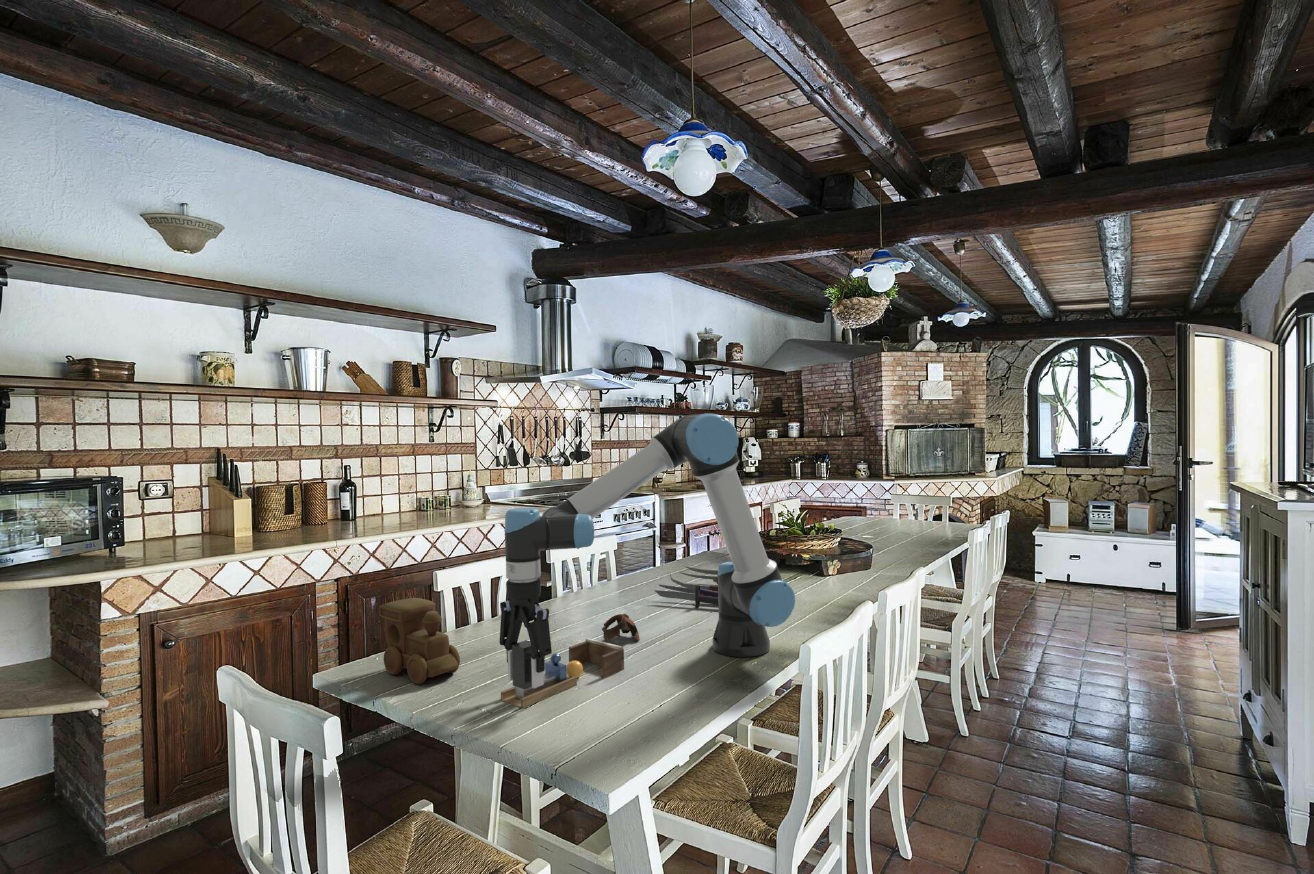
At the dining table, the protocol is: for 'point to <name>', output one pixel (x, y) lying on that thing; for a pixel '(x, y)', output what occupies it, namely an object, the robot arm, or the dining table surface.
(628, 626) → the brown curved piece
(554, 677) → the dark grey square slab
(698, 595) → the knife set
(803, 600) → the dining table surface
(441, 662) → the wooden toy train
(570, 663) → the ball
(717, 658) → the dining table surface
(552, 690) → the track
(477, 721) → the dining table surface
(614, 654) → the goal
